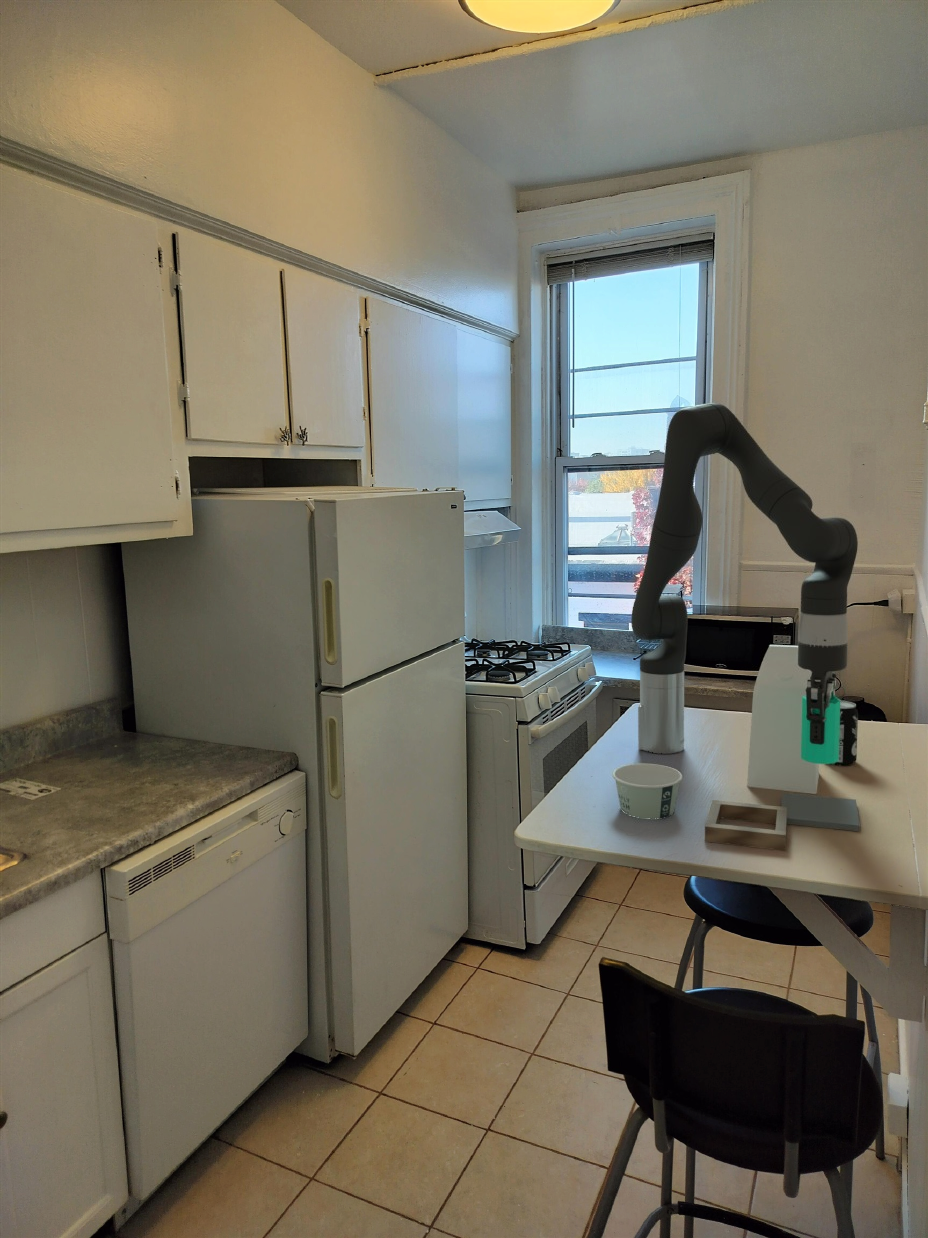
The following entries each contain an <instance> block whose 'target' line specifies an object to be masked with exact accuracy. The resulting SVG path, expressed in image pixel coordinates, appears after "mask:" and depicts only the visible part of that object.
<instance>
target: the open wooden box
mask: <svg viewBox="0 0 928 1238" xmlns="http://www.w3.org/2000/svg"><path fill="white" fill-rule="evenodd" d="M707 814H708V815H707V819H706V822H705V825H704V842H708V843H716V844H717V843H718V844H725V845H733V846H743V847H750V848H751V847H752V848H758V849H759V848H760V849H769V850H777V851H784V852H785V851H786V841H787V840H786V839H787V825H788V824H787V807H781V806H778V805H777V806H776V805H767V804H757V803H749V802H748V803H747V802H744V803H743V802H737V801H736V802H735V801H725V800H716V799H713V800H712V801H711V804H710V807H709V810H708V813H707ZM721 819H727V820H728V819H729V820H737V821H748V822H757V823H764V824H765V823H766V824H775V830H774V829H765V828H757V827H748V826H747V827H746V826H737V825H731V824H720V821H721Z"/></svg>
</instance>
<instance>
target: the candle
mask: <svg viewBox="0 0 928 1238" xmlns="http://www.w3.org/2000/svg"><path fill="white" fill-rule="evenodd" d="M840 700H841V699H840V698H838V697H837V696H836V695H835V696H834V699H831V701H830V707H829V708H827V709H826V721H825V735H824V743H823V744H822V745H820V744H812V743H811V742H810V721H809V720H807V718H806V715H807V704H806V696H803V697H802V733H801V759H803V760H805V761H807V762H812V763H817V764H819V765H831V764H832V763H836V762H838V761H839V731H840ZM824 703H825V702H824ZM813 713H815V714H820V711H819V709H814V708H813Z"/></svg>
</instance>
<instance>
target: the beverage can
mask: <svg viewBox="0 0 928 1238" xmlns="http://www.w3.org/2000/svg"><path fill="white" fill-rule="evenodd" d="M856 707H857V704H856V703H855V702H852V701H847V700H841V699H840V731H839V761H838V762H836V763H832V764H830V765H831V766H838V767H848V766H851V765H853V764H854V763H855V762H856V761H857V754H858V751H857V750H858V728H859V726H858V725H859V724H858V723H859V721H858V720H859V711H858V709H857V708H856Z"/></svg>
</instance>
